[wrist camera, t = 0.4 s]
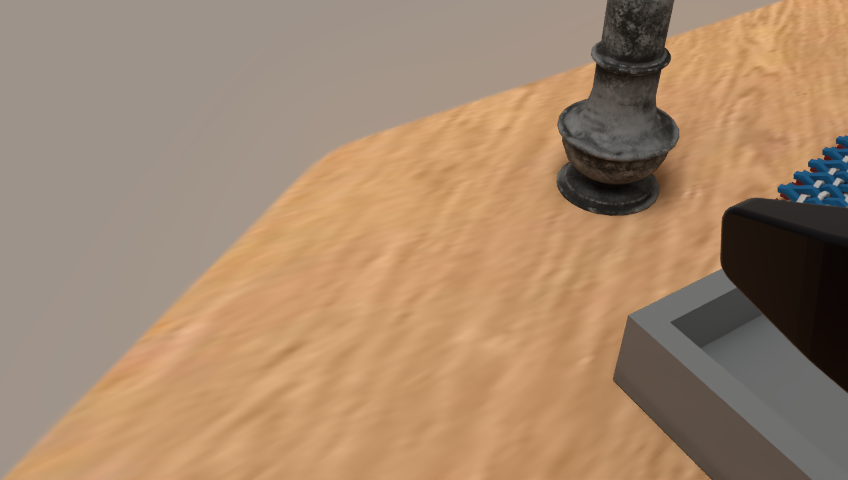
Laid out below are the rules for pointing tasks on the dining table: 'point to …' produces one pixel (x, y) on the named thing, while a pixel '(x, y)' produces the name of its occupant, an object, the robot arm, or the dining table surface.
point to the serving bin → (733, 387)
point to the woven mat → (822, 179)
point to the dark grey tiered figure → (620, 115)
